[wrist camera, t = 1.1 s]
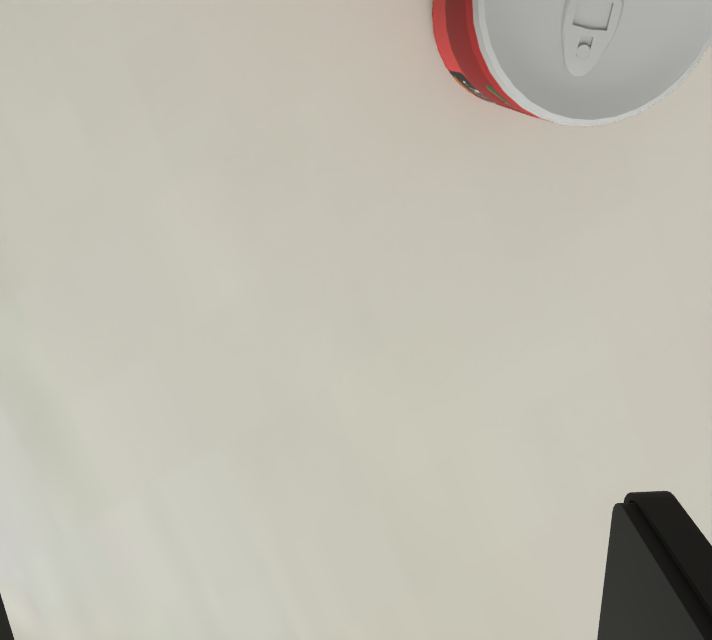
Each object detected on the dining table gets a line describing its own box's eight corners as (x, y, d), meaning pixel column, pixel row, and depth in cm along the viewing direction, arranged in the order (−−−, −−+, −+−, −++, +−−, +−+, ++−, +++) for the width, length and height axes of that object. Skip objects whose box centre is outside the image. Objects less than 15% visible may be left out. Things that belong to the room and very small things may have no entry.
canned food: (435, 113, 31) (481, 141, 21) (422, -82, 29) (469, -159, 18) (599, 94, 31) (725, 112, 21) (603, -105, 28) (752, -195, 18)
